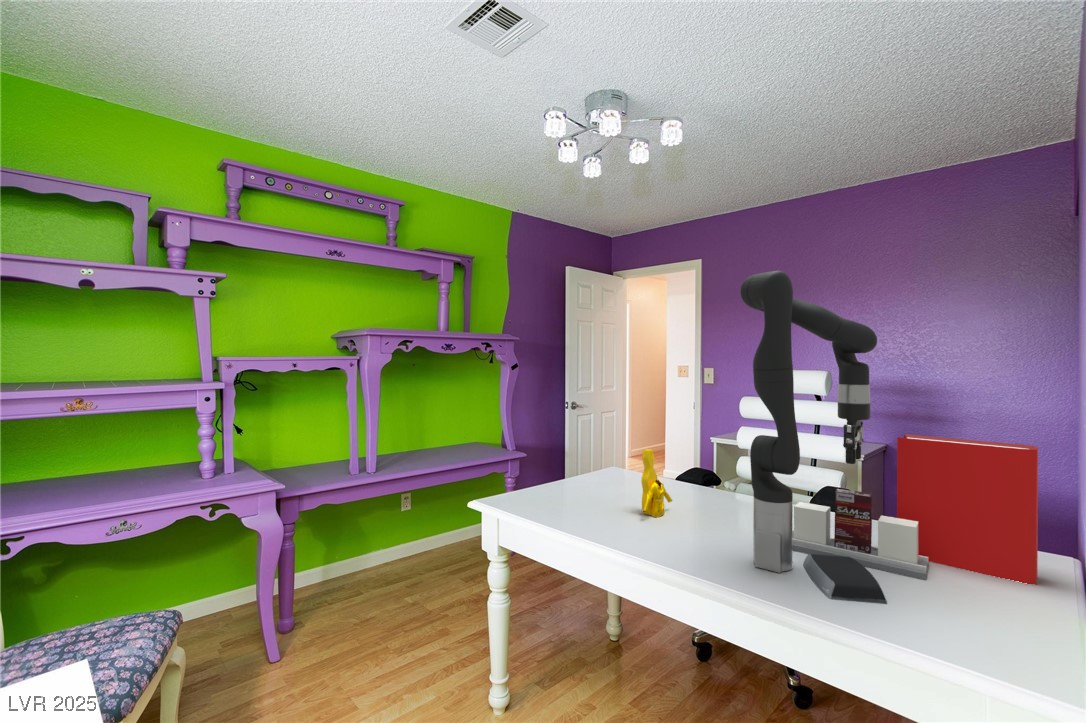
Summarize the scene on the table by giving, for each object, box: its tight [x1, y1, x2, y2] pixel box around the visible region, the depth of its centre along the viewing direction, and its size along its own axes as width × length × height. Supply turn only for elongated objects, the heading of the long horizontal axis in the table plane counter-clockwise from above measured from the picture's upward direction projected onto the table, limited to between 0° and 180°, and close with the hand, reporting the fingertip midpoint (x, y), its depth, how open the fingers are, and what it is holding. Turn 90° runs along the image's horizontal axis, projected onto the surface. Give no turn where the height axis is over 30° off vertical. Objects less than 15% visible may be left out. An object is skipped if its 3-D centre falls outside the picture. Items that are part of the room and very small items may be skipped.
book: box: [896, 433, 1039, 585], centre depth 131 cm, size 27×8×32 cm, turn 44°
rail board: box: [792, 501, 930, 581], centre depth 137 cm, size 12×32×12 cm, turn 50°
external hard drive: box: [802, 554, 888, 605], centre depth 121 cm, size 13×19×4 cm
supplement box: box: [833, 488, 873, 555], centre depth 137 cm, size 9×5×16 cm, turn 58°
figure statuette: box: [641, 448, 673, 518], centre depth 174 cm, size 18×8×22 cm, turn 136°
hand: (853, 461), depth 137 cm, fingers open, 8 cm apart
